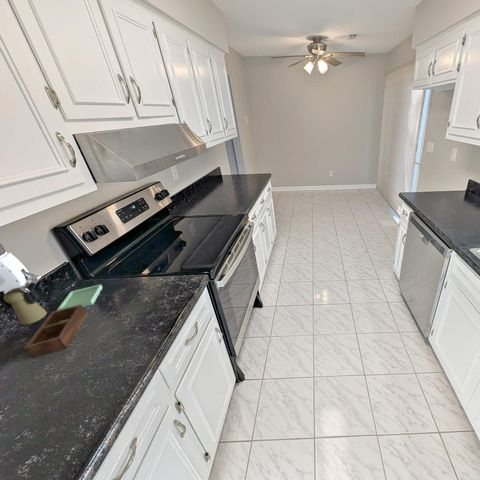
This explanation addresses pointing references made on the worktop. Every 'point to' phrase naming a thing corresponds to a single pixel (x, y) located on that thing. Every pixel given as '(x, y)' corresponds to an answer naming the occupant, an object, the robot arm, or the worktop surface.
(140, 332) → the worktop surface
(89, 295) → the tray
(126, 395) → the worktop surface
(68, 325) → the caddy
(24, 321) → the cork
